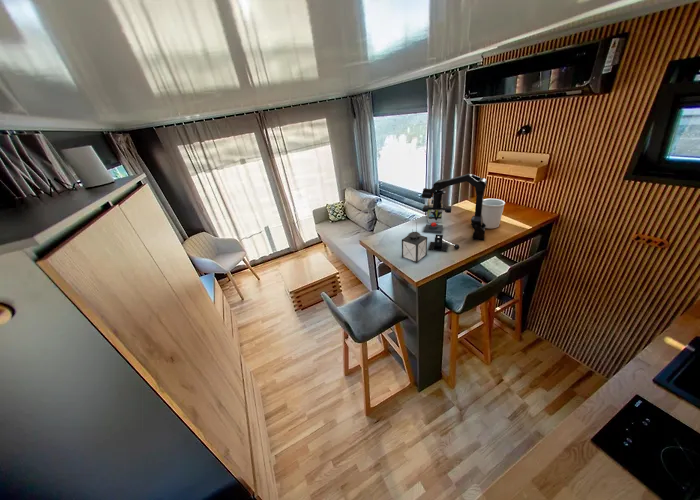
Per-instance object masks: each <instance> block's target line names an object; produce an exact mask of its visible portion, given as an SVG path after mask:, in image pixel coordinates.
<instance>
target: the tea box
mask: <svg viewBox="0 0 700 500" xmlns="http://www.w3.org/2000/svg"><path fill="white" fill-rule="evenodd" d="M432 200H433V198H431V199H427V205H429V207H433V204H431V203H432ZM442 207H443V204H442ZM437 213H438V210H436V217H437ZM442 216H443V213H442V214H440V215H439V217H438V219H437V220H435V218H434V215H433V213H431V210H428V212H426V218H427V222H428V223H427V224H431V223H436V224H438V223H442Z"/></svg>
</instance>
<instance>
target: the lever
mask: <svg viewBox="0 0 700 500" xmlns="http://www.w3.org/2000/svg"><path fill="white" fill-rule="evenodd" d="M437 238H442V237H439V236H437ZM442 243H447V244H448V245H449V246H451V247H453V248H454V249H455V250H458V249H460V245H459V244H458V243H456V244H454V243H452V242H450V241H447V240H445V239H444V238H443V239H442Z"/></svg>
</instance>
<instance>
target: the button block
mask: <svg viewBox="0 0 700 500" xmlns="http://www.w3.org/2000/svg"><path fill="white" fill-rule="evenodd" d="M443 228H444V225H443V224H438V223H436V226H435V227H433V226H431V223H426V224H425V227H424V229H423V232H424V233H430V234H442V232H443Z"/></svg>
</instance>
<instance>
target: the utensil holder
mask: <svg viewBox="0 0 700 500" xmlns="http://www.w3.org/2000/svg"><path fill="white" fill-rule="evenodd" d="M505 205H506V202H505V201H504V200H503V199H500V198H483V206H482V217H483V223H484V224H485V225H486V227H485V229H497V228H499V227H500V224H501V220H502V216H503V212H504V209H505Z"/></svg>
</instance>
